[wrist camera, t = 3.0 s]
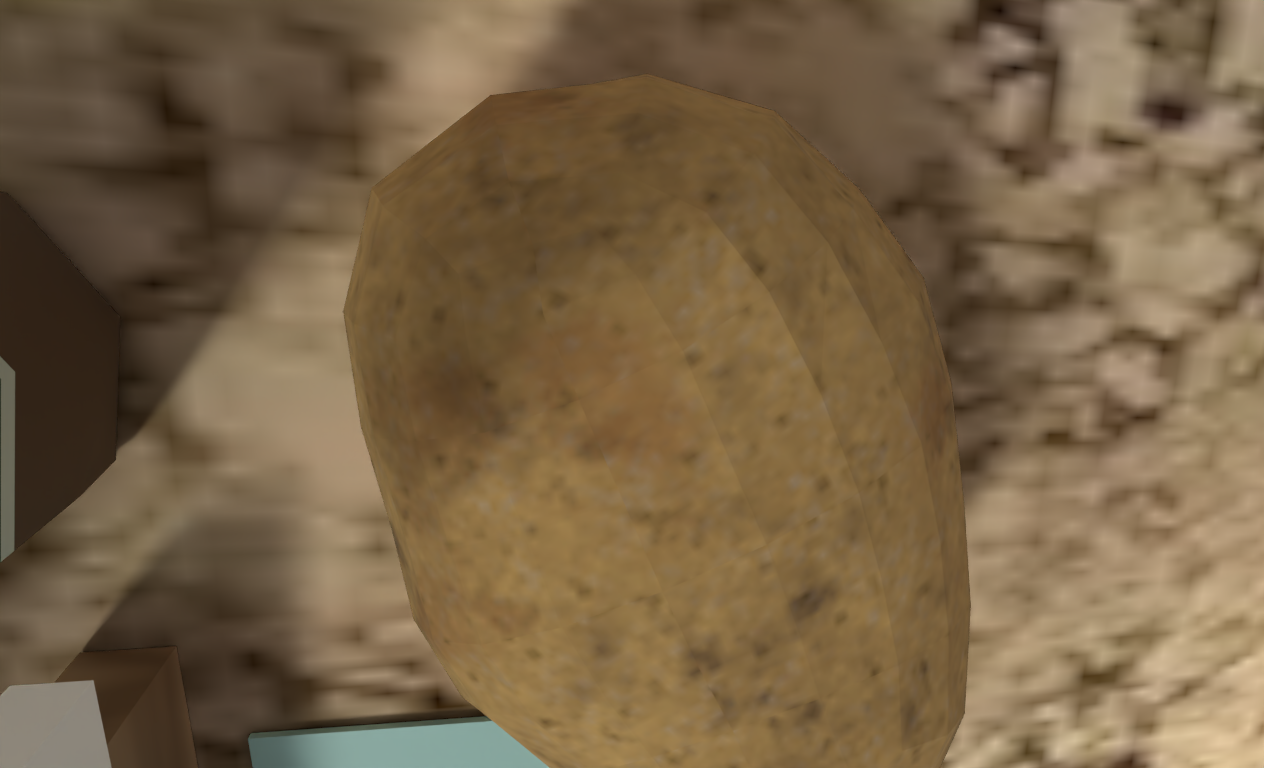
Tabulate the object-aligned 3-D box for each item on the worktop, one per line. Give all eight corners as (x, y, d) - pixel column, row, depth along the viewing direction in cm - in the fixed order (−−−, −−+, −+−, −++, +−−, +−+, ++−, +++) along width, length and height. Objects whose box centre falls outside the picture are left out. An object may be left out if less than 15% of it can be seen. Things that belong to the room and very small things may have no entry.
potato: (580, 767, 23) (591, 1099, 15) (283, 196, 19) (101, 260, 12) (978, 605, 23) (1192, 862, 15) (756, -13, 19) (892, -91, 11)
